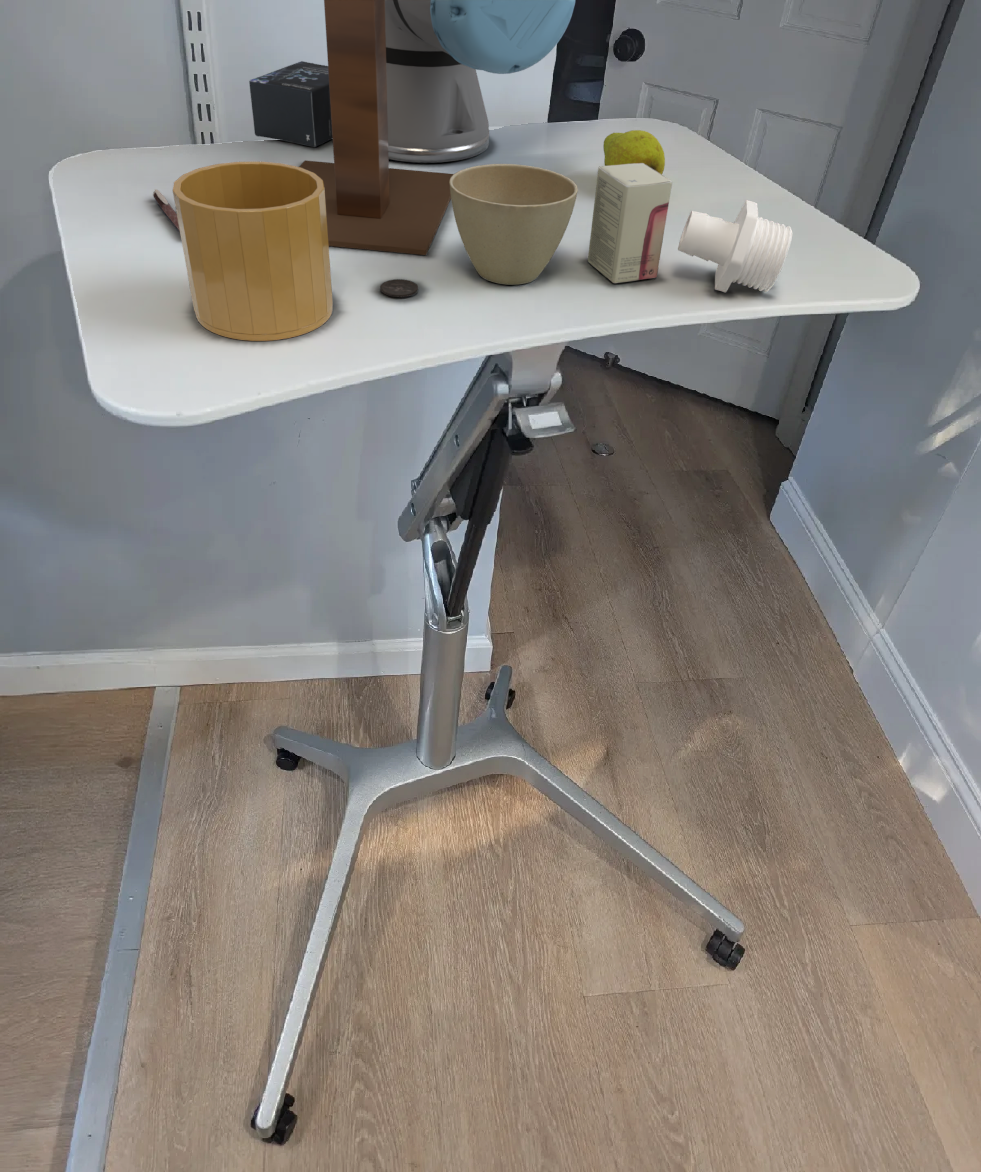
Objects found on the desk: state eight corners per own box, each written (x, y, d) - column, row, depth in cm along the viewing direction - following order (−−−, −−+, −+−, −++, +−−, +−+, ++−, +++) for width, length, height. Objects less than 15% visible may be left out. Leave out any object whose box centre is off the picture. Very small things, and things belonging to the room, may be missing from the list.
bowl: (591, 286, 73) (603, 195, 68) (484, 307, 69) (489, 213, 65) (528, 242, 80) (534, 156, 75) (427, 259, 76) (427, 170, 71)
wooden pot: (222, 276, 71) (203, 155, 65) (346, 288, 71) (339, 168, 65) (174, 333, 64) (149, 203, 58) (313, 347, 63) (301, 217, 57)
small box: (658, 279, 75) (675, 181, 70) (612, 285, 74) (627, 185, 68) (629, 256, 78) (643, 160, 73) (585, 261, 77) (596, 164, 72)
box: (361, 69, 100) (311, 91, 92) (363, 124, 104) (316, 150, 96) (300, 59, 102) (246, 79, 94) (304, 113, 106) (253, 137, 98)
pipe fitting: (672, 252, 77) (760, 280, 77) (668, 284, 72) (763, 314, 72) (700, 177, 73) (794, 207, 73) (698, 205, 68) (799, 237, 68)
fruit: (612, 190, 87) (562, 154, 95) (657, 211, 90) (605, 175, 98) (642, 129, 84) (588, 98, 92) (687, 154, 87) (631, 121, 95)
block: (347, 199, 84) (334, -32, 72) (389, 203, 84) (384, -28, 72) (337, 214, 81) (322, -24, 69) (380, 219, 81) (373, -20, 69)
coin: (409, 300, 69) (423, 284, 72) (409, 297, 69) (423, 282, 71) (374, 294, 70) (389, 278, 72) (373, 291, 70) (388, 276, 72)
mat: (305, 165, 92) (304, 160, 92) (459, 179, 91) (459, 174, 91) (242, 237, 77) (241, 232, 77) (426, 255, 76) (426, 249, 76)
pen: (151, 198, 83) (149, 186, 82) (160, 197, 83) (157, 185, 82) (185, 241, 75) (182, 229, 75) (194, 240, 76) (192, 228, 75)
